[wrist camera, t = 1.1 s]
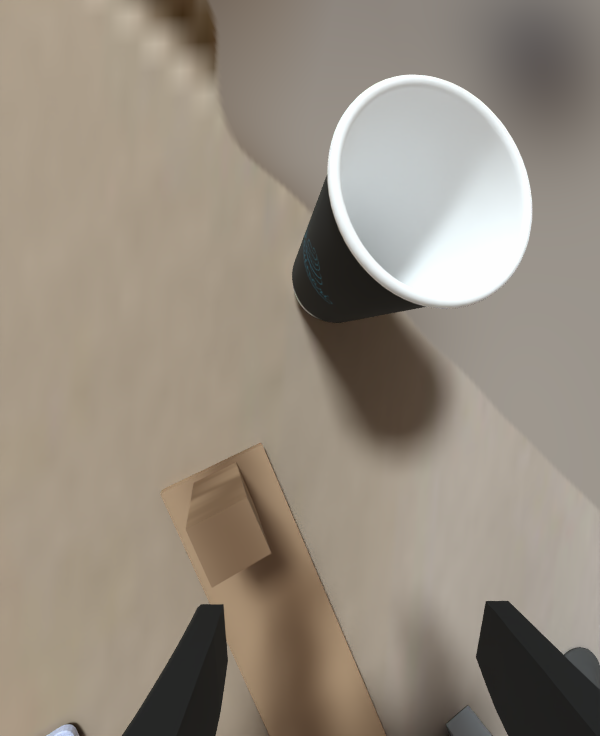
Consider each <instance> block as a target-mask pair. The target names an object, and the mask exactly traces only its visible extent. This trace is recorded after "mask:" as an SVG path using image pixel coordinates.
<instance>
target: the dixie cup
mask: <svg viewBox="0 0 600 736" xmlns="http://www.w3.org/2000/svg"><path fill="white" fill-rule="evenodd" d="M531 223H532V198H531V190H530V185H529V180H528V176H527V172H526V168H525V166H524V163H523V160H522V157H521V155H520V153H519V151H518V149H517V147H516V145H515V143H514V141H513V139H512V137H511V136H510V134H509V133H508V131H507V130H506V128H505V127H504V125H503V124H502V123H501V121H500V120H499V119H498V118H497V117H496V116H495V114H494V113H493V112H492V111H491V110H490V109H489V108H488V107H487V106H486V105H485V104H483V103H482V102H481V101H480V100H479V99H478V98H476V97H475V96H473V95H472V94H471V93H469V92H468V91H466V90H464V89H463V88H461V87H459V86H457V85H455V84H453V83H450V82H448V81H445V80H442V79H438V78H435V77H430V76H424V75H402V76H397V77H392V78H389V79H386V80H383V81H381V82H379V83H376V84H374V85H373V86H371V87H370V88H368V89H367V90H366V91H364V92H363V93H362V94H361V95H359V96H358V97H357V98H356V99H355V100H354V102H353V103H352V104H351V105H350V106H349V107H348V109H347V110H346V111H345V113H344V114H343V116H342V118H341V119H340V121H339V123H338V125H337V128H336V130H335V132H334V135H333V139H332V142H331V147H330V152H329V157H328V168H327V177H326V179H325V182H324V184H323V187H322V190H321V192H320V195H319V198H318V201H317V203H316V206H315V208H314V211H313V214H312V217H311V219H310V222H309V225H308V227H307V230H306V233H305V235H304V238H303V241H302V243H301V246H300V249H299V251H298V254H297V257H296V259H295V262H294V266H293V272H292V280H293V288H294V292H295V295H296V298H297V300H298V302H299V303H300V305H301V306H302V307H303V309H304V310H305V311H306V312H308V313H309V314H310V315H312V316H314V317H316V318H318V319H321V320H324V321H327V322H332V323H341V322H347V321H352V320H358V319H363V318H368V317H374V316H379V315H384V314H390V313H395V312H400V311H406V310H411V309H416V308H422V307H431V308H442V309H450V308H460V307H466V306H469V305H472V304H475V303H477V302H480V301H482V300H484V299H486V298H487V297H489V296H491V295H492V294H493V293H495V292H496V291H497V290H499V289H500V288H501V287H502V286H503V285H504V284H505V283H506V282H507V281H508V280H509V279H510V277H511V276H512V275H513V274H514V272H515V271H516V269H517V267H518V266H519V264H520V262H521V260H522V258H523V255H524V253H525V250H526V247H527V244H528V240H529V235H530V230H531Z"/></svg>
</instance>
